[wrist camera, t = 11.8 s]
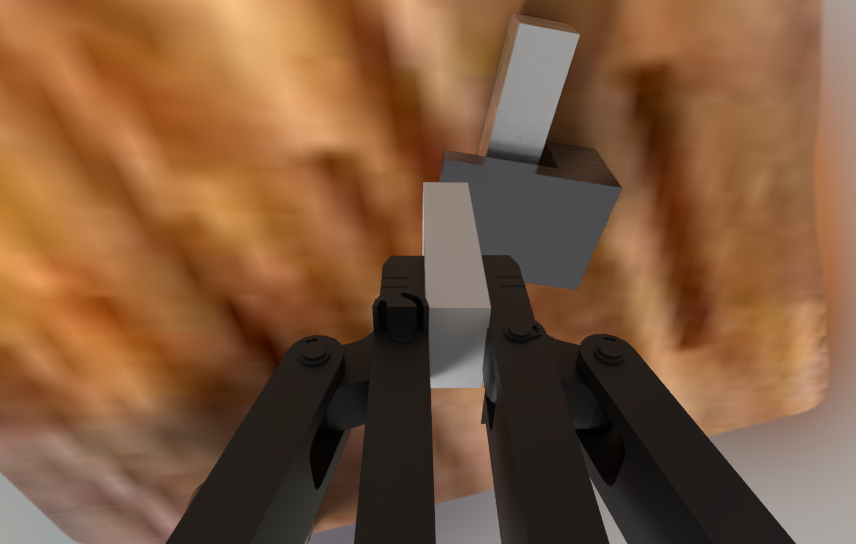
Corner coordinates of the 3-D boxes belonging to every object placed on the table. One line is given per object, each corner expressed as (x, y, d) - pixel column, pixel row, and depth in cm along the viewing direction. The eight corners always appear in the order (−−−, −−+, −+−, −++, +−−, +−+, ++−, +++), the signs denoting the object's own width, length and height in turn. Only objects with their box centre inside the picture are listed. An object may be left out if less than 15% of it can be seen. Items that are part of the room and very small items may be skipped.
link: (489, 305, 43) (493, 329, 41) (433, 298, 43) (434, 322, 40) (578, 25, 30) (592, 36, 28) (500, 10, 30) (507, 20, 27)
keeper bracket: (531, 314, 45) (544, 363, 40) (407, 298, 44) (405, 347, 39) (595, 149, 36) (621, 188, 31) (441, 123, 35) (444, 159, 30)
